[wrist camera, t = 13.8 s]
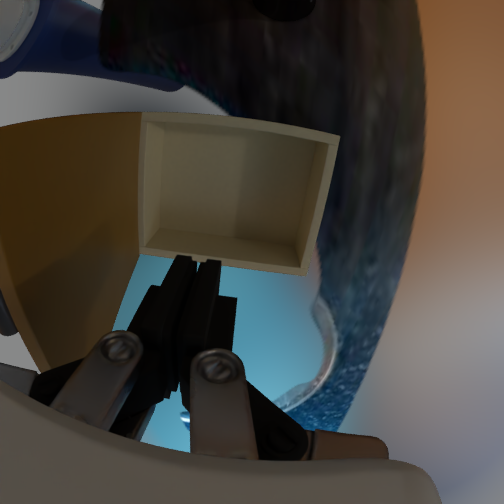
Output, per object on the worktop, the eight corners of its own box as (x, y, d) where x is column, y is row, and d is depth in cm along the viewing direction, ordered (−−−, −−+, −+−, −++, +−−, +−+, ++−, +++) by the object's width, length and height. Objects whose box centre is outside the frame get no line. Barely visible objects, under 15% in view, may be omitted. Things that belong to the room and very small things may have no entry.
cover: (-11, 129, 3) (-83, 157, 2) (88, 424, 9) (13, 401, 8) (142, 111, 18) (85, 114, 17) (139, 256, 23) (91, 252, 22)
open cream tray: (324, 132, 23) (340, 136, 19) (298, 249, 29) (306, 276, 24) (161, 112, 23) (139, 111, 18) (155, 230, 28) (137, 253, 24)
